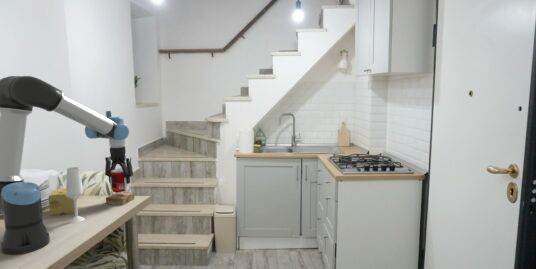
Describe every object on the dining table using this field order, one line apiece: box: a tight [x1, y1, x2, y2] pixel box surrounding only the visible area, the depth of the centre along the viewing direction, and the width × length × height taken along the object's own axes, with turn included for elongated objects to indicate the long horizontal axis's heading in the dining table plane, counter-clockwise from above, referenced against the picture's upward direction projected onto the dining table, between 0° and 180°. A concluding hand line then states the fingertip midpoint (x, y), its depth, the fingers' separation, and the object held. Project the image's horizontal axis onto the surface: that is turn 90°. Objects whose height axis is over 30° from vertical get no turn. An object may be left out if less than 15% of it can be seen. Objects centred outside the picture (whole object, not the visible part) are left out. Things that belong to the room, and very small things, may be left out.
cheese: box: [48, 188, 75, 216], centre depth 167 cm, size 10×11×10 cm
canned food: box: [111, 167, 127, 193], centre depth 181 cm, size 8×8×11 cm
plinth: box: [105, 192, 135, 206], centre depth 182 cm, size 10×10×3 cm
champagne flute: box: [65, 166, 86, 224], centre depth 154 cm, size 7×7×24 cm
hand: (120, 188), depth 182 cm, fingers closed on canned food, 8 cm apart
